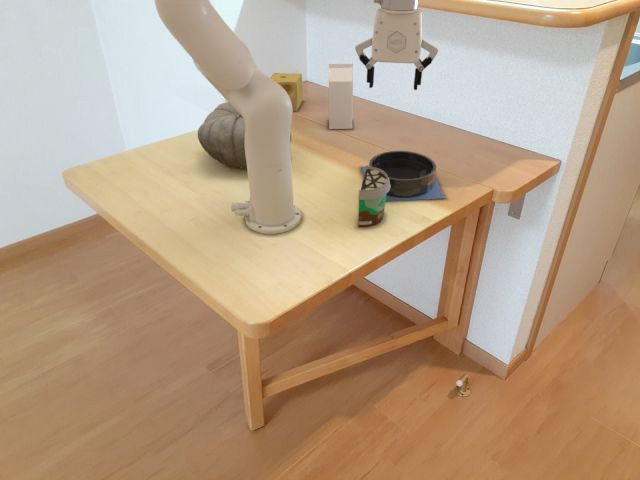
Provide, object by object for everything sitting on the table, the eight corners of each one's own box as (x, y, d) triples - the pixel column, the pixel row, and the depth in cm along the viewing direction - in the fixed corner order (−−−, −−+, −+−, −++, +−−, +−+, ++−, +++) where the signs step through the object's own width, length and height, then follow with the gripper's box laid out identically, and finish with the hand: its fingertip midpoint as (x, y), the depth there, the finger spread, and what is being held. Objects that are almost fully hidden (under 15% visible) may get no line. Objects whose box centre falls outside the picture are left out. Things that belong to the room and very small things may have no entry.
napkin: (370, 201, 122) (370, 200, 122) (361, 167, 137) (361, 166, 137) (444, 198, 123) (445, 197, 123) (427, 165, 138) (428, 164, 138)
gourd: (210, 180, 127) (205, 109, 120) (191, 157, 147) (186, 95, 140) (304, 171, 136) (304, 104, 129) (274, 150, 157) (272, 91, 150)
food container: (385, 233, 111) (388, 193, 106) (357, 231, 112) (358, 191, 107) (390, 205, 121) (393, 166, 115) (364, 202, 122) (366, 164, 116)
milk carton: (352, 129, 159) (353, 67, 148) (329, 129, 159) (328, 67, 148) (351, 120, 165) (352, 60, 154) (329, 121, 165) (328, 60, 154)
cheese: (268, 110, 173) (265, 81, 167) (275, 99, 182) (273, 71, 176) (298, 112, 172) (297, 82, 166) (304, 100, 180) (303, 72, 175)
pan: (373, 200, 123) (374, 181, 120) (364, 169, 137) (365, 151, 134) (440, 197, 124) (443, 179, 121) (425, 166, 137) (427, 149, 134)
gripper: (355, 4, 101) (352, 90, 111) (444, 7, 99) (433, 94, 109) (358, -2, 107) (355, 80, 117) (443, 0, 105) (432, 83, 115)
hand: (393, 87), depth 113 cm, fingers open, 9 cm apart
